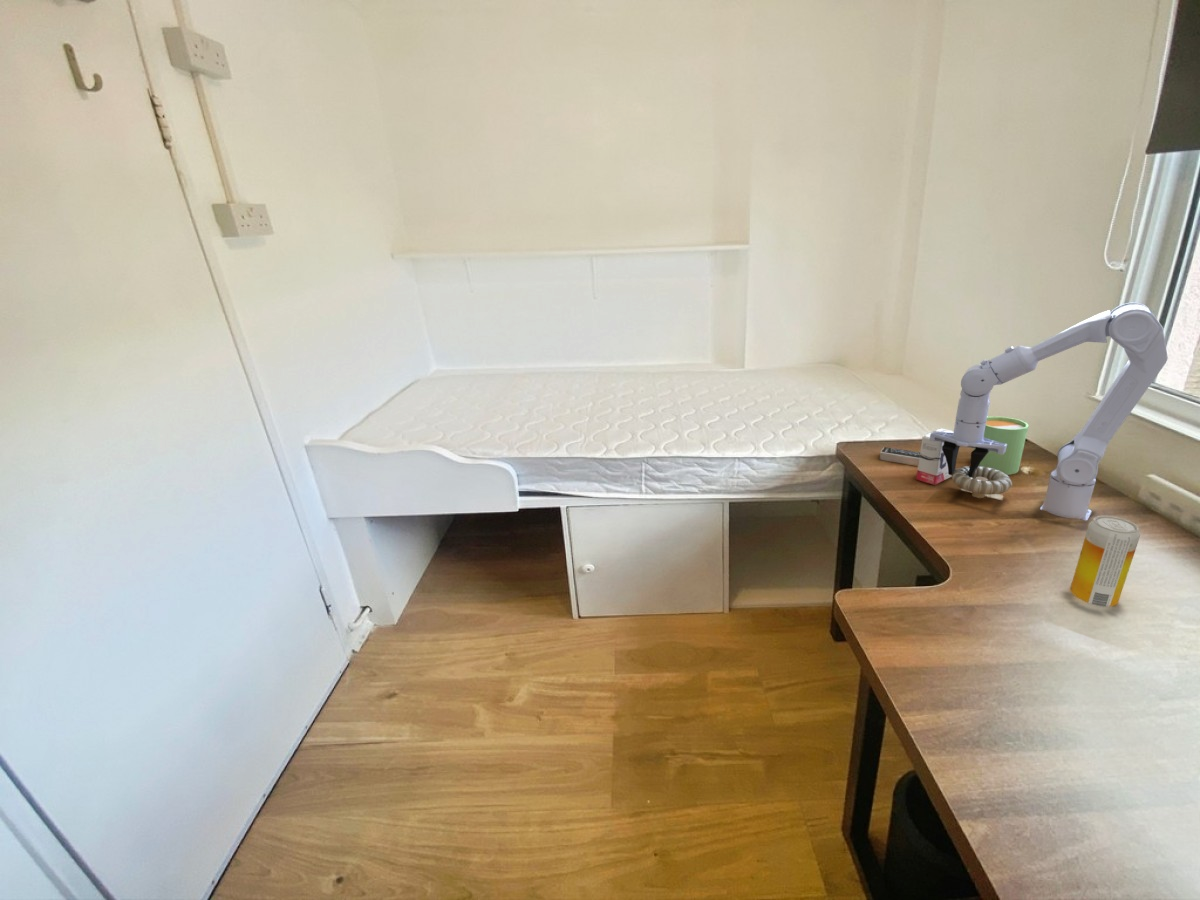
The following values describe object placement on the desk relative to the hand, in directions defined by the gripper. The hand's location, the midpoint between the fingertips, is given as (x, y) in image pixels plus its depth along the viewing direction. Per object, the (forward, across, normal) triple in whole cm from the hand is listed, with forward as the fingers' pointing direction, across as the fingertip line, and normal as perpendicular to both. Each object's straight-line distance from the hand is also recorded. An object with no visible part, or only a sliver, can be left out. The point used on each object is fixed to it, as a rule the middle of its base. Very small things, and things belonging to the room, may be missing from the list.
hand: (960, 475), depth 127 cm
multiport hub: (+6, -17, +14) cm, 23 cm away
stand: (+5, +4, 0) cm, 7 cm away
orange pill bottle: (+6, +28, -28) cm, 40 cm away
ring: (0, +4, 0) cm, 4 cm away
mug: (+6, +1, +24) cm, 25 cm away
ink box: (+6, -7, +7) cm, 12 cm away
